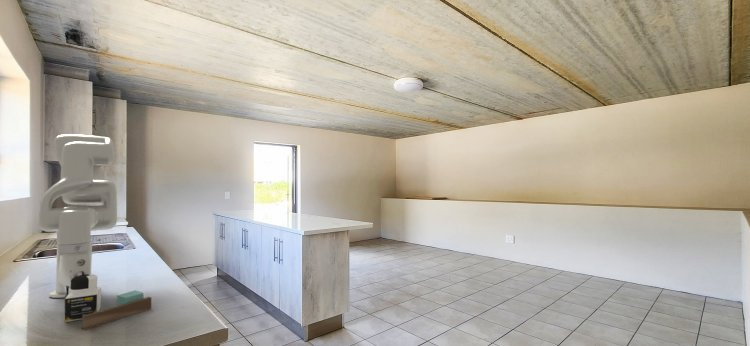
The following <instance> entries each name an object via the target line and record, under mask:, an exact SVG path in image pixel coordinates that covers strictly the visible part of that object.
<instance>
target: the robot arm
mask: <svg viewBox="0 0 750 346" xmlns="http://www.w3.org/2000/svg"><path fill="white" fill-rule="evenodd" d="M53 149H54V153H55V157H56V159H57V161H58V163H59V165H60V178H59V179H60V180H59V181H58V182H56V183H54V184H53V185H52V186H51V187H49V188H48V189H47V191H45V192H44V194H43V195H42V197H41V199H40V202H39V211H38V226H39V228H40V230H42V231H44V232H47V233H48V232H49V233H51V232H53V233H55V232H56V264H55V266H56V269H55V289H53V290H52V291H50V292H49V295H48V296H49V297H50V298H54V299H59V298H60V299H63V298H64V299H65V298H66V297H67V296H68V294H69V293H70V289H71V279H72V278H74V277H77V276H80V275H86V274H92V261H93V259H92V258H93V257H92V256H93V243H92V240H91V239H92V238H91V237H92V236H91V233H92V232H96V231H106V230H112V229H114V228H115V227H116V225H117V223H118V222H117V221H118V201H117V199H118V197H117V196H118V195H117V186H116V184H115V183H114V182H113V181H111V180H108V179H107V180H106V179H104V180H103V179H94V166H111V165H112V164H113V163H115V158H116V157H115V156H116V150H115V145H114V141H113V139H112V138H111V137H109V136H108V137H107V136H99V135H88V134H87V135H86V134H71V133H70V134H69V133H68V134H67V133H66V134H60V135H57V136H56V137H55V138H54V140H53ZM60 197H61V199H62V201H63V202H64V203H65V204H67V205H73V206H65V207H57V208H52V207H53V203H54V202H55V200H56V199H59V198H60Z"/></svg>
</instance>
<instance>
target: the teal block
mask: <svg viewBox="0 0 750 346" xmlns="http://www.w3.org/2000/svg"><path fill="white" fill-rule="evenodd" d="M143 298H144V292H141V291H138V290H132V291H127V292H124V293H120V294H118V295H117V294H116V306H119V305H122V304H125V303H129V302H132V301H136V300H139V299H143Z"/></svg>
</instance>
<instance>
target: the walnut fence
mask: <svg viewBox="0 0 750 346" xmlns="http://www.w3.org/2000/svg"><path fill="white" fill-rule="evenodd" d="M151 309H152V297H150V296H146V297H143V299H139V300H136V301H132V302H129V303H125V304H122V305H119V306H117V305H115V306H112V307H109V308H105V309H100V310H99V311H98V312H94V313H91V314H87V315H84V316H82V319H81V329H82V330H84V331H86V330H88V329H92V328H94V327H98V326H101V325H103V324H107V323H111V322H113V321H117V320H119V319H123V318H126V317H129V316H132V315H136V314H138V313H142V312H145V311H148V310H151Z"/></svg>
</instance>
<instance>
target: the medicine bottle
mask: <svg viewBox="0 0 750 346" xmlns="http://www.w3.org/2000/svg"><path fill="white" fill-rule="evenodd" d="M101 293H102V287H101V286H98V275H96V274H93V273H91V274H86V275H80V276H77V277H74V278H72V279H71V289H70V293H69V294H68V296H67V297H66V298H65V297H64V321H63V322H64V323H68V322H69V323H70V322H75V321H80V320H81V321H82V316H84V315H87V314H91V313H94V312H98V311H101V304H102V303H101V300H102V299H101V295H102V294H101Z"/></svg>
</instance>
